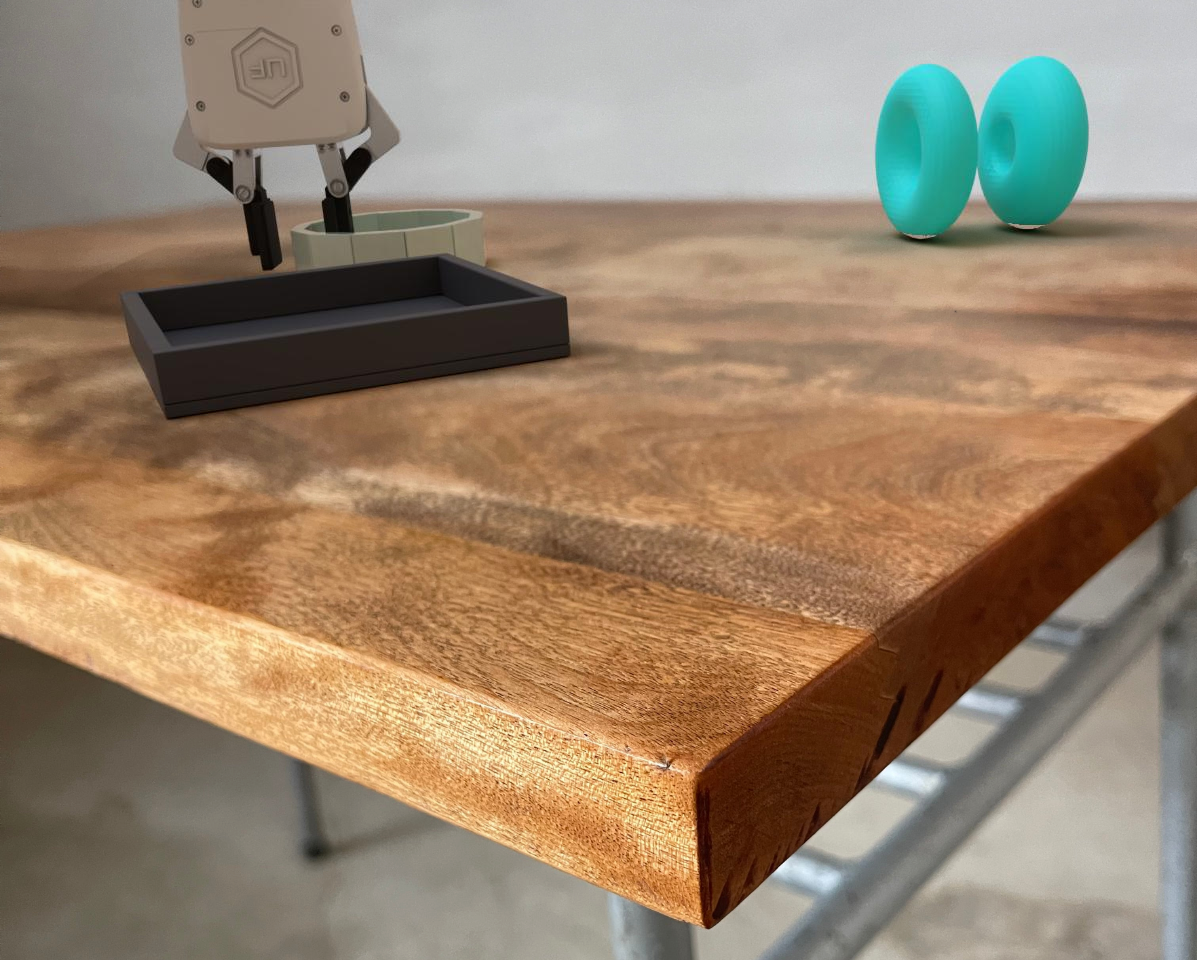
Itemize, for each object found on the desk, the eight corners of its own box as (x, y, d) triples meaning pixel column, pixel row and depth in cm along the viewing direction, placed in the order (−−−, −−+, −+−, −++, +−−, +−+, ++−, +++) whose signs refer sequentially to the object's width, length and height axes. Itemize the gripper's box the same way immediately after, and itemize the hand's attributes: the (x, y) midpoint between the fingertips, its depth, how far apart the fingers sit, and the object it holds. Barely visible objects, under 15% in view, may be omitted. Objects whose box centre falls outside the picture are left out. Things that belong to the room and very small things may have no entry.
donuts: (865, 231, 81) (870, 65, 77) (1008, 218, 82) (1020, 55, 78) (930, 251, 72) (939, 64, 68) (1089, 236, 73) (1107, 53, 69)
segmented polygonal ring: (284, 292, 72) (276, 239, 71) (316, 262, 83) (310, 216, 82) (482, 278, 72) (477, 225, 71) (489, 250, 83) (485, 204, 82)
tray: (129, 343, 61) (118, 292, 60) (452, 300, 66) (447, 252, 65) (166, 419, 47) (152, 353, 46) (571, 355, 52) (567, 296, 51)
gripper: (87, -64, 66) (156, 284, 74) (396, -83, 67) (434, 265, 74) (129, -52, 73) (188, 265, 81) (409, -70, 74) (443, 248, 81)
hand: (306, 262), depth 77 cm, fingers open, 3 cm apart
